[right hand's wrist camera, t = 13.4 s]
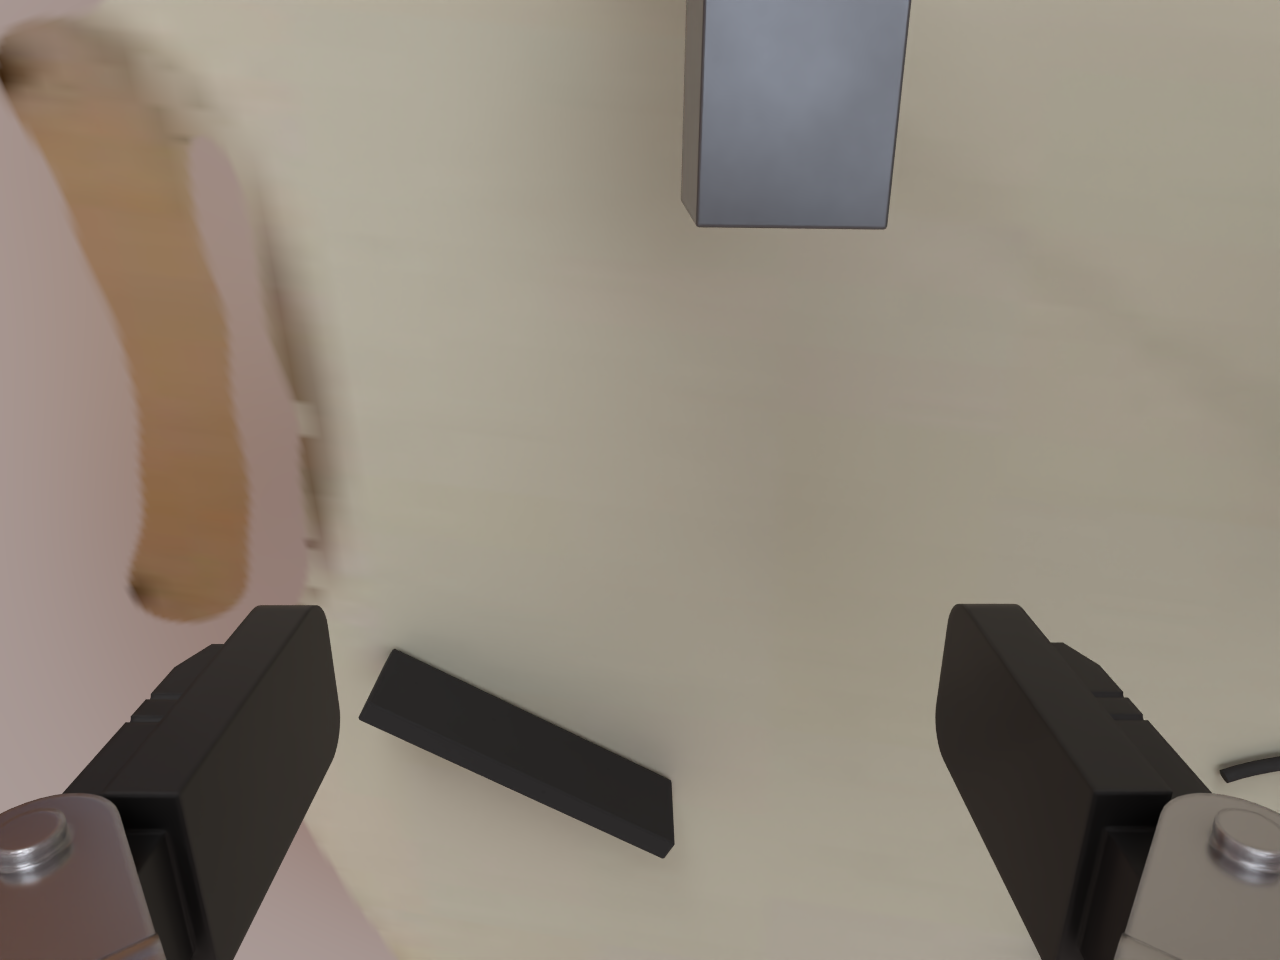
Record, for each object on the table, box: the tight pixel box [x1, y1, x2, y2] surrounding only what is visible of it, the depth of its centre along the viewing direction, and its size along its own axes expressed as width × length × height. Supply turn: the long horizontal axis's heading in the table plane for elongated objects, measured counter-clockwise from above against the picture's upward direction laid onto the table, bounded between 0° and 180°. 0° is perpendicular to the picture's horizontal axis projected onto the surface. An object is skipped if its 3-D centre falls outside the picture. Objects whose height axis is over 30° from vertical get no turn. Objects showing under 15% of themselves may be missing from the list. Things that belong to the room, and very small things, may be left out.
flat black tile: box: [359, 649, 674, 858], centre depth 47 cm, size 18×1×5 cm, turn 60°
